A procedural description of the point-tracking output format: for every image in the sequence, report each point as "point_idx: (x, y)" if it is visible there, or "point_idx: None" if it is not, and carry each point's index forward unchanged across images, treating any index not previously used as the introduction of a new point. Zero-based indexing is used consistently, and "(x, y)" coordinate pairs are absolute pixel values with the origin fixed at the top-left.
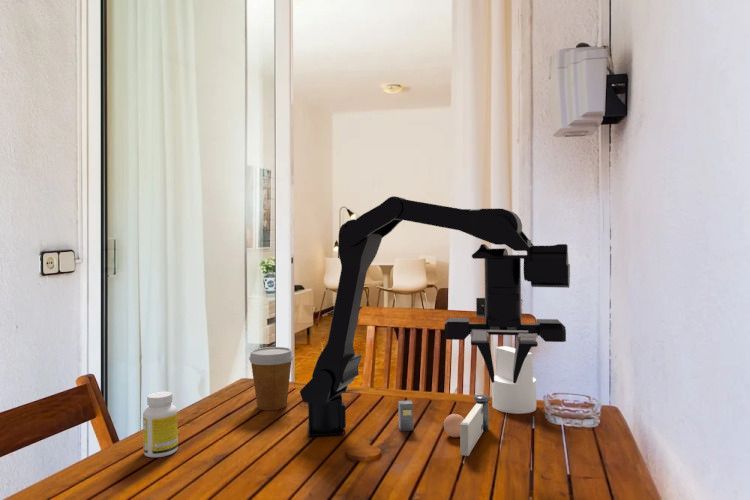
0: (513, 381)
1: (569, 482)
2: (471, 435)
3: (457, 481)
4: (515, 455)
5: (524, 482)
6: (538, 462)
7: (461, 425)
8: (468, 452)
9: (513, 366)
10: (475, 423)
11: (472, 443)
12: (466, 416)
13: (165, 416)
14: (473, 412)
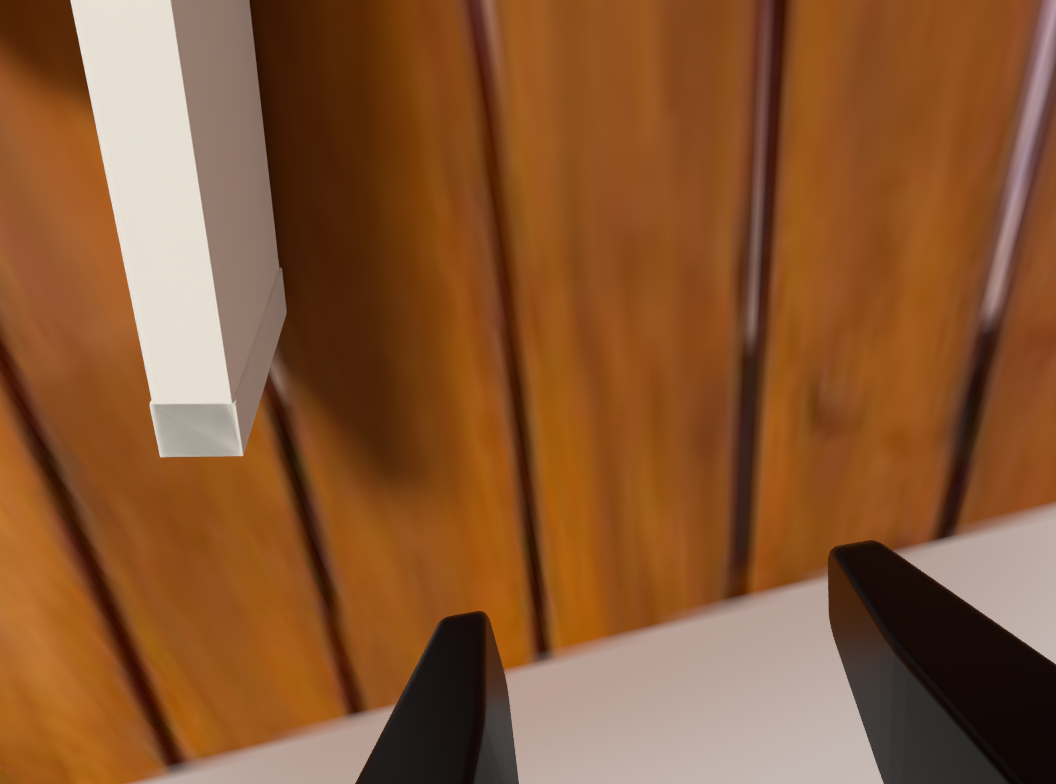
0: (841, 658)
1: (967, 429)
2: (247, 243)
3: (339, 615)
4: (634, 126)
5: (705, 511)
6: (810, 202)
7: (176, 450)
8: (282, 321)
9: (968, 746)
10: (210, 73)
11: (259, 175)
12: (113, 209)
13: None
14: (126, 14)
